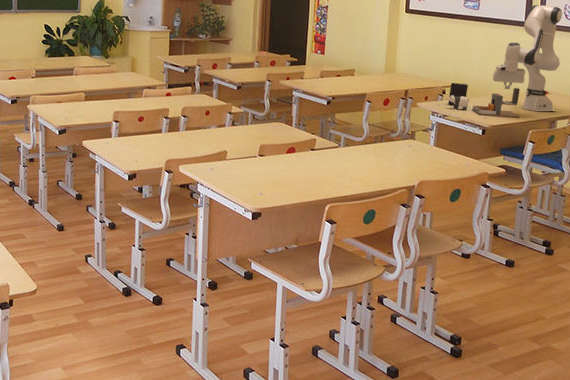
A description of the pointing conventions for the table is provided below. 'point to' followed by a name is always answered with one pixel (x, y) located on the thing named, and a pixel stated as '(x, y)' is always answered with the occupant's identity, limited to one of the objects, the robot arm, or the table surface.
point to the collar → (490, 107)
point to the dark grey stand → (497, 111)
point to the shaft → (513, 98)
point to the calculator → (458, 91)
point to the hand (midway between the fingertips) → (507, 88)
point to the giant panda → (459, 102)
